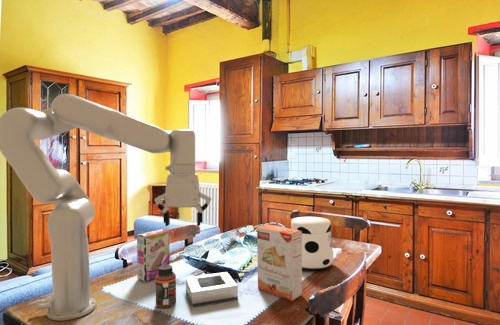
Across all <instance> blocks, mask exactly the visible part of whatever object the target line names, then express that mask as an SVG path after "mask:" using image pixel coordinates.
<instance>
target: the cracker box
mask: <svg viewBox="0 0 500 325" xmlns="http://www.w3.org/2000/svg"><path fill="white" fill-rule="evenodd" d="M256 235H257V236H256V237H257V239H256V240H257V248H256V249H257V254H256V255H257V289H258V290H260V291H261V290H262V291H263V292H267V293H269V294H271V295H275V296H277V297H280V298H282V299H285V300H286V301H287V300H288V301H290V302H293V301H295V300H296V299H298V298H300V297H301V296H303V269H302V231H300V230H294V229H291V228H289V227H284V226H280V225H274V224H263V225H259V226H257V227H256Z"/></svg>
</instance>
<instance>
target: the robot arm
mask: <svg viewBox="0 0 500 325" xmlns="http://www.w3.org/2000/svg"><path fill="white" fill-rule="evenodd" d="M50 106H51V107H49V108H45V109H42V110H36V109H32V108H29V107H14V108H11V109H8V110H6V112H4V113H3V114H2V115H1V116H0V153H1V154H2V155H3V157H4V159H5V160H6V161H7V162H8V163H9V165H10V166H11V168H12V169H13V171H14V173H15V174H16V175H17V177H18V179H19V180H20V181H21V182H22V185H23V186H24V187H25V188H26V190H27V191H28V193H29V194H30V196H31V197H32V198H33V199H34V200H35V201H36V202H38V203H41V204H51V203H52V204H53V206H54V208H53V209H52V210H51V211H50V213H49V215H48V218H47V226H46V227H47V233H48V237H49V238H48V239H49V243H50V254H51V259H50V260H51V282H52V283H51V284H52V296H50V297H48V298H46V299H45V298H43V299H37V300H36V301H35V308H38V310H44V309H47V311H46V317H47V318H48V319H49V320H51V321H68V320H73V319H78V318H81V317H83V316H86V315H87V314H90V313H91V312H92V311H94V310H95V308H96V307H97V300H96V299H95V298H93V297H91V280H90V279H91V278H90V277H91V276H90V275H91V274H90V251H89V250H90V249H89V247H90V246H89V238H88V234H87V226H89V225H90V224H91V223H92V221H93V220H94V217H95V214H96V210H95V209H96V208H95V206H94V204H93V202H92V201H91V199H90V197H89V196H88V195H87V193H86V192H85V191H84V189H83V187H82V186H81V184H80V183H79V182H78V180H77V179H76V177H75V176H74V175H73V174H71V172H69V171H67V170H65V169H62V168H56V167H55V166H54V165H53V163H51V161H50V160H49V158H48V157H47V155H46V154H45V152H44V151H43V150H42V149H41V148H40V147H39V146H38V145H37V143H36V142H35V141H36V140H37V141H38V140H39V141H40V140H46V139H49V138H52V137H55V136H58V135H60V134H63V133H66V132H68V131H72V130H74V129H77V128H78V129H80V130H83V131H86V132H89V133H91V134H94V135H97V136H100V137H103V138H106V139H107V140H113V141H117V142H120V143H123V144H126V145H128V146H131V147H134V148H136V149H140V150H142V151H144V152H148V153H151V154H164V153H170V154H169V155H170V156H169V157H170V158H169V159H170V162H169V163H170V164H169V165H166V166H165V171H169V174H167V177H166V183H165V184H166V185H165V192H164V193H163V194H161V195H158V196H157V197H155V198H154V202H155V204H156V206H157V208H158V209H159V210H160V211H161V212H162V213H163V223H164V224H165V227H168V226H170V224H171V222H170V221H171V219H170V213H171V212H170V211H169V210H170V209H171V208H195V209H196V210H197V213H196V226H198V227H200V226H201V223H203V212H204V211H205V210H206V209H207V208H208V206H209V205H210V203H211V201H212V197H211V196H208V195H207V194H205V193H202V192H200V182H199V181H200V180H199V175H198V173H196V133H195V131H194V130H192V129H185V128H183V129H182V128H181V129H178V128H177V129H173V130H166V129H165V130H164V129H163V128H161V127H159V126H157V125H154V124H151V123H147V122H145V121H142V120H139V119H137V118H134V117H131V116H129V115H126V114H124V113H122V112H120V111H118V110H115V109H112V108H111V107H107V106H104V105H101V104H99V103H97V102H94V101H91V100H88V99H86V98H83V97H81V96H77V95H75V94H70V93H61V94H59V95H57V96H55V98H54V99H53V100H52V102H51V105H50ZM163 199H164V202H165V204H163V203H162V201H161V200H163ZM201 199H203V200H205V202H204V204H203V205H201V204H200V202H201Z"/></svg>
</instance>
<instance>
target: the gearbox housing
mask: <svg viewBox="0 0 500 325" xmlns="http://www.w3.org/2000/svg"><path fill="white" fill-rule="evenodd" d="M238 290H239V289H238V284H237V283H236V281H235V280H234V279H233V278H232V276H231V275H230V273H228V271H223V272H216V273H209V274H208V273H207V274H203V275H196V276H189V277H188V276H187V277H185V291H186V294H187V297H188V300H189V303H190V306H191V308H197V307H203V306H209V305H215V304H219V303H220V304H221V303H227V302H231V301H237V300H238V299H239V297H238V295H239V294H238V293H239V292H238Z"/></svg>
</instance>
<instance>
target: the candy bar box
mask: <svg viewBox="0 0 500 325" xmlns="http://www.w3.org/2000/svg"><path fill="white" fill-rule="evenodd" d="M136 256H137V257H136V258H137V259H136V261H137V262H136V263H137V267H136V268H137V270H136V271H137V272H136V273H137V279H136V280H138V281H141V282H142V283H147V282H151V281H152V280H156V275H157V274H158V273H159V267H160V266H163V265H170V230H167V229H163V228H160V229H157V230H152V231H148V232H143V233H138V234H136Z"/></svg>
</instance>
